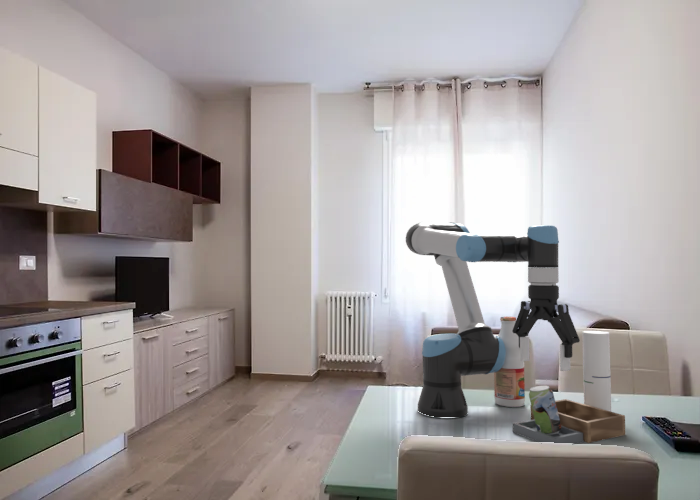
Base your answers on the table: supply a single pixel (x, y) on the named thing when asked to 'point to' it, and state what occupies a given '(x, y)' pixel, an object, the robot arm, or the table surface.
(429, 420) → the table surface
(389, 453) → the table surface
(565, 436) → the tray
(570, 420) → the crate
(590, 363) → the cylindrical container
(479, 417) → the table surface
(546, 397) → the beverage can
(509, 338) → the fruit juice
